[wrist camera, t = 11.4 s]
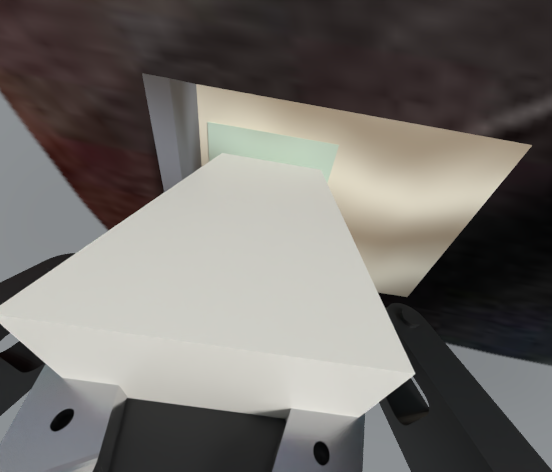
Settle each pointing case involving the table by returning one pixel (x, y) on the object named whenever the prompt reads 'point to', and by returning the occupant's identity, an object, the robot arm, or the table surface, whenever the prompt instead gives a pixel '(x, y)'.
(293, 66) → the table surface
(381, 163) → the cream grey flat block
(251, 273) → the carton
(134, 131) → the table surface
